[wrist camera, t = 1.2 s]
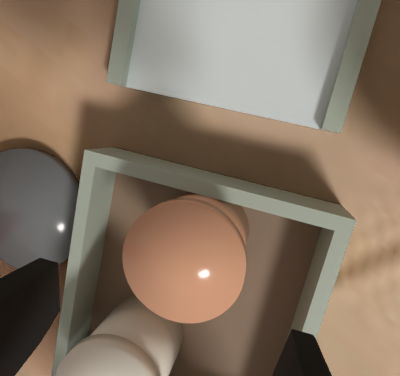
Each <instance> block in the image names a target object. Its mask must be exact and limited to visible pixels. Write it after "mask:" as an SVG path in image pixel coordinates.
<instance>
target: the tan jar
mask: <svg viewBox="0 0 400 376" xmlns="http://www.w3.org/2000/svg"><path fill="white" fill-rule="evenodd" d="M248 236H249V223H248V218H247V216H246V213H245V211H244V209H243V207H242V206H240V205H237V204H233V203H229V202H225V201H222V200H218V199H214V198H210V197H207V196H203V195H199V194H196V193H192V192H188V191H186V192H184V193H183V194H181V195H180V196H178V197H177V198H175V199H170V200H167V201H164V202H161V203H159V204H158V205H156V206H154V207H152V208H151V209H149V210H148V211H146V212H145V213H143V214H142V215H141V216H140V217H139V218H138V219H137V220H136V221H135V222H134V223H133V225H132V226H131V228H130V229H129V231H128V233H127V236H126V238H125V241H124V245H123V253H122V262H123V269H124V273H125V276H126V279H127V281H128V284H129V286H130V288H131V289H132V291H133V293H134V294H135V295H136V297H137V298H138V299H139V300H140V301H141V302H142V304H144V305H145V306H146V307H147V308H148V309H150V310H151V311H152V312H154V313H155V314H157V315H159V316H161V317H163V318H165V319H168V320H171V321H175V322H179V323H201V322H205V321H208V320H211V319H214V318H216V317H218V316H219V315H221V314H222V313H224V312H225V311H226V310H228V309H229V308H230V307H231V306H232V305H233V303H234V302H235V301H236V299H237V298H238V296H239V294H240V292H241V290H242V287H243V284H244V279H245V274H246V269H247V251H246V246H247V241H248Z"/></svg>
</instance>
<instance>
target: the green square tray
mask: <svg viewBox="0 0 400 376" xmlns="http://www.w3.org/2000/svg"><path fill="white" fill-rule="evenodd" d="M186 191H188V192H192V193H196V194H199V195H203V196H207V197H210V198H214V199H218V200H222V201H225V202H229V203H233V204H237V205H240V206H242V207H243V209H244V211H245V213H246V216H247V218H248V223H249V236H248V241H247V246H246V251H247V269H246V274H245V279H244V284H243V287H242V290H241V292H240V294H239V296H238V298H237V299H236V301H235V302H234V303H233V305H232V306H231V307H230V308H229V309H228V310H226V311H225V312H224V313H222V314H221V315H219V316H218V317H216V318H214V319H211V320H208V321H205V322H201V323H181V325H182V329H183V342H182V346H181V348H180V351H179V353H178V355H177V358H176V360H175V362H174V365H173V367H172V370H171V372H170V374H169V376H272V374H273V372H274V369H275V367H276V365H277V362H278V360H279V358H280V355H281V353H282V350H283V348H284V346H285V343H286V341H287V339H288V336H289V334H290V331H291V329H295V330H298V331H302V332H305V333H309V334H312V335H314V337H315V338H317V335H318V332H319V329H320V326H321V323H322V320H323V317H324V314H325V311H326V308H327V305H328V302H329V299H330V296H331V293H332V290H333V287H334V284H335V282H336V279H337V276H338V273H339V270H340V267H341V264H342V261H343V258H344V255H345V252H346V249H347V246H348V243H349V240H350V237H351V234H352V231H353V228H354V225H355V222H356V220H355V218H354V217H353V216H352V215H351V214H350V213H349V212H348V211H347V210H346V209H345V208H344V207H343V206H342V205H339V204H335V203H331V202H327V201H323V200H319V199H315V198H312V197H308V196H304V195H300V194H296V193H292V192H288V191H284V190H280V189H276V188H272V187H268V186H264V185H260V184H256V183H252V182H249V181H245V180H241V179H237V178H233V177H229V176H225V175H221V174H217V173H213V172H209V171H205V170H201V169H197V168H193V167H190V166H186V165H182V164H178V163H174V162H170V161H166V160H162V159H158V158H154V157H150V156H146V155H142V154H138V153H134V152H130V151H127V150H123V149H119V148H115V147H108V148H97V149H86V150H84V156H83V163H82V169H81V176H80V183H79V190H78V197H77V204H76V211H75V217H74V224H73V231H72V238H71V245H70V252H69V259H68V266H67V272H66V279H65V286H64V293H63V300H62V307H61V314H60V320H59V327H58V334H57V341H56V348H55V355H54V362H53V369H52V375H51V376H56V371H57V369H58V366H59V364H60V362H61V361H62V360H63V358H64V357H65V356H66V355H67V354H68V353H69V352H70V351H71V349H72V348H73V347H74V346H75V345H76V344H77V343H78V342H80V341H81V340H83V339H84V338H86V337H89V336H90V335H91V334H92V333H93V332H94V331H95V330H96V328H97V327H98V326H99V325H100V324H101V323H102V322H103V321H104V320H105V318H106V317H107V316H108V315H109V314H110V313H111V312H112V311H113V310H114V308H115V307H116V306H117V305H118V304H119V303H120V302H121V301H122V300H124V299H125V298H127V297H130V296H133V295H135V294H134V293H133V291H132V289H131V288H130V286H129V284H128V281H127V279H126V276H125V273H124V269H123V262H122V253H123V245H124V241H125V238H126V236H127V233H128V231H129V229H130V228H131V226H132V225H133V223H134V222H135V221H136V220H137V219H138V218H139V217H140V216H141V215H142V214H143V213H145V212H146V211H148V210H149V209H151V208H152V207H154V206H156V205H158V204H159V203H161V202H164V201H167V200H170V199H175V198H177V197H178V196H180V195H181V194H183V193H184V192H186Z"/></svg>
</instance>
